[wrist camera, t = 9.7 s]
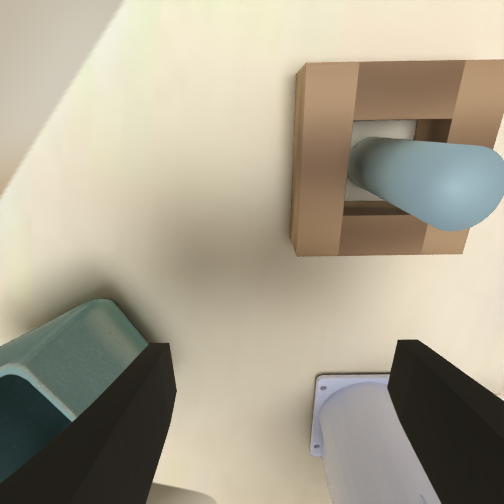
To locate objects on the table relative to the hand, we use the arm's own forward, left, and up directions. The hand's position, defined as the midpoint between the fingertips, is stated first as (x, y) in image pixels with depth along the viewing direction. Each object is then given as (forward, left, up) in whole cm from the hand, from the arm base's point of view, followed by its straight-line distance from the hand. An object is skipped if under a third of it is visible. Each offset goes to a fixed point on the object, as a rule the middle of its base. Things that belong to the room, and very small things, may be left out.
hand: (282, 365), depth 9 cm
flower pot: (-7, +12, -11) cm, 17 cm away
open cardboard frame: (+5, -6, -10) cm, 13 cm away
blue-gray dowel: (+5, -6, -10) cm, 13 cm away
